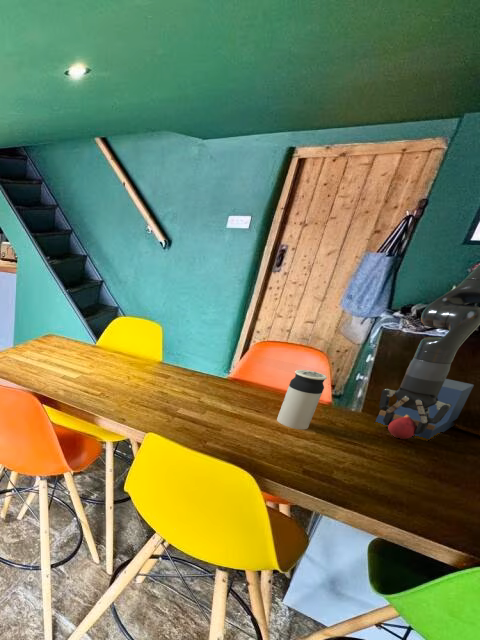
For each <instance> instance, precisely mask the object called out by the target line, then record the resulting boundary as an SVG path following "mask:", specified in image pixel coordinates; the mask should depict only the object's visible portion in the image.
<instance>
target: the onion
mask: <svg viewBox="0 0 480 640" xmlns="http://www.w3.org/2000/svg"><path fill="white" fill-rule="evenodd" d="M416 429H417V425H416V423H415V422H414V421H413V420H412V419H411V418H410V416H409V415H405V416H404V417H401V418H396V419H394V420H393V421H391V422H390V423H389V425H388V429H387V430H388V432H389V434H390V435H391V436H392V435H393V436H394V437H397V438H400V439H399V440H406V439H411V438H413V437H412V436H414V435H415V431H416ZM393 436H392V437H393ZM394 437H393V438H394Z"/></svg>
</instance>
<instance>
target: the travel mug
mask: <svg viewBox="0 0 480 640" xmlns="http://www.w3.org/2000/svg"><path fill="white" fill-rule="evenodd" d="M294 373H295V376H294V377H293V378H292V379H291V380H290V382H289V385H288V387H287V390H286V392H285V395H284V398H283V401H282V404H281V407H280V410H279V412H278V416H277V418H276V422H278V423H279V424H281V425H282V426H284V427H288V428H291V429H295V430H307V429H309V427H310V424H311V422H312V419H313V416H314V415H315V411H316V410H317V407H318V404H319V401H320V399H321V397H322V395H323V392H324V389H325V385H324V382H325V380H327V379H328V376H327V375H325V374H323V373H321V372H317V371H314V370H308V369H297V370H295V371H294Z"/></svg>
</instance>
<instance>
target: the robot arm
mask: <svg viewBox="0 0 480 640" xmlns="http://www.w3.org/2000/svg"><path fill="white" fill-rule="evenodd" d="M470 304H471V305H470ZM472 304H480V264H478V266H476V267H475V268H473V270H472V271H471V272H470V273H469V274H468V275H467V276H466V277H465V279H463V280H462V281H461V283H459V285H457V286H456V287H454V288H452V289H450V290H449V291H447V292H446V293H445V294H443V295H441V296H440V297H438V298H437V299H435V300H434V301H432V302H430V303H429V304H428V305H427V306H426V307H425V309H424V310H423V311H422V313H421V317H420V322H421V323H422V325H424V326H425V327H428V328H431V329H439V330H443V331H448V332H447V333H446V334H445V335H444V336H442V337H441V336H427V337H424V338H422V339H421V340H420V342H419V344H418V346H417V348H416V351H415V353H414V356H413V358H412V360H410V362H409V365H408V367H407V368H406V370H405V374H404V376H403V379H402V380H401V383H400V386H399V388H398V389H397V390H394V389H390V388H385V389H383V390H381V394H380V400H379V405H378V408H379V409H380V410H383V411H386V415H385V417H384V419H383V422H385V425H389V423H390V422H391V421H392V419H393V417H394V414H395V413H394V411H395V410H397V409H398V408H400V407H401V406H402V407H405V408H411V409H413V410H416V411H418V414H419V415H420V419H421V422H419V424H418V426H417V429H416V431H415V434H420V433H423V432H424V431H425V430H426V428H427V425H428V423H433V424H436V423H438V422H440V421H441V419H442V418H443V417H444V416H445V414H446V413H447V412H448V410H449V409H450V408H451V406H452V405H451V404H449V403H447V404H445V403H442V402H440V401H438V398H437V397H438V394H439V392H440V390H441V388H442V385H443V383H444V381H445V379H447V377H448V375H449V372H450V370H451V365H452V362H453V361H454V358H455V356H456V354H457V352H458V350H459V348H460V347H461V346H462V345H463V343H464V342H465V341H466V340H467V339H468V338H469V337H470V335H472V334H473V332H475V330H477V329H478V328H479V326H480V307H479V306H476V305H472ZM393 396H395V399H396V402H397V400H398V402H397V403H396V402H395V403H394V404H393V405H392V406H390V405H389V403H390V398H391V397H393ZM432 405H437V410H439V411H438V412H437V414H436V415H435V416H434V418H430V415H429V408H428V407H430V406H432Z"/></svg>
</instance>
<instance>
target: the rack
mask: <svg viewBox="0 0 480 640" xmlns="http://www.w3.org/2000/svg"><path fill="white" fill-rule="evenodd" d="M474 386H475V384H473V383H467V382H463V381H459V380H453V379H450V378H446V379H445V381H444V383H443V385H442V388H441V390H440V392H439V394H438V397H437V398H438V401H440V402H442V403H445V404H447V403H449V404H451V405H452V406H451V408H450V409H449V410H448V412H447V413H446V414H445V416H444V417H443V418H442V419H441V421H440V422H438V423H436V424H433V423H428V425H427V428H426V430H425V431H424V432H423V433H420V434H415V436H419V437H423V438H426V439H430V438H431V437H433V436H434V435H436V434H437V433H440V432H443V433H444V432H446V431H448V430H450V429H451V428H453V427H454V426H455V424H456V422H454V421H456V420H458V418H459V416H460V415H461V413H462V410H463V408H464V406H465V404H466V402H467V400H468V399H469V397H470V394H471V393H472V390H473V388H474ZM397 402H398V400H397V399H396V402H395V403H397ZM428 408H429V415H430V418H434V416H435V415H436V414H437V412H438V411H439V410H437V405H432V406H430V407H428ZM394 413H395V414H394V417H393V419H392V421H393V420H394V419H396V418H401V417H404V416H405V415H409V416H410V418H411V419H412V420H413V421H414V422H415V423H416V425H417V426H418V424H419V422H421V419H420V415H419V414H418V411H416V410H413V409H411V408H405V407H402V406H401V407H400V408H398V409H397V410H395V411H394ZM385 415H386V411H385V410H383V409H380V410H379V412H378V415H377V416H376V419H375V422H378V423H381V424H383V425H385V422H383V419H384V417H385ZM387 426H388V425H387Z"/></svg>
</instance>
